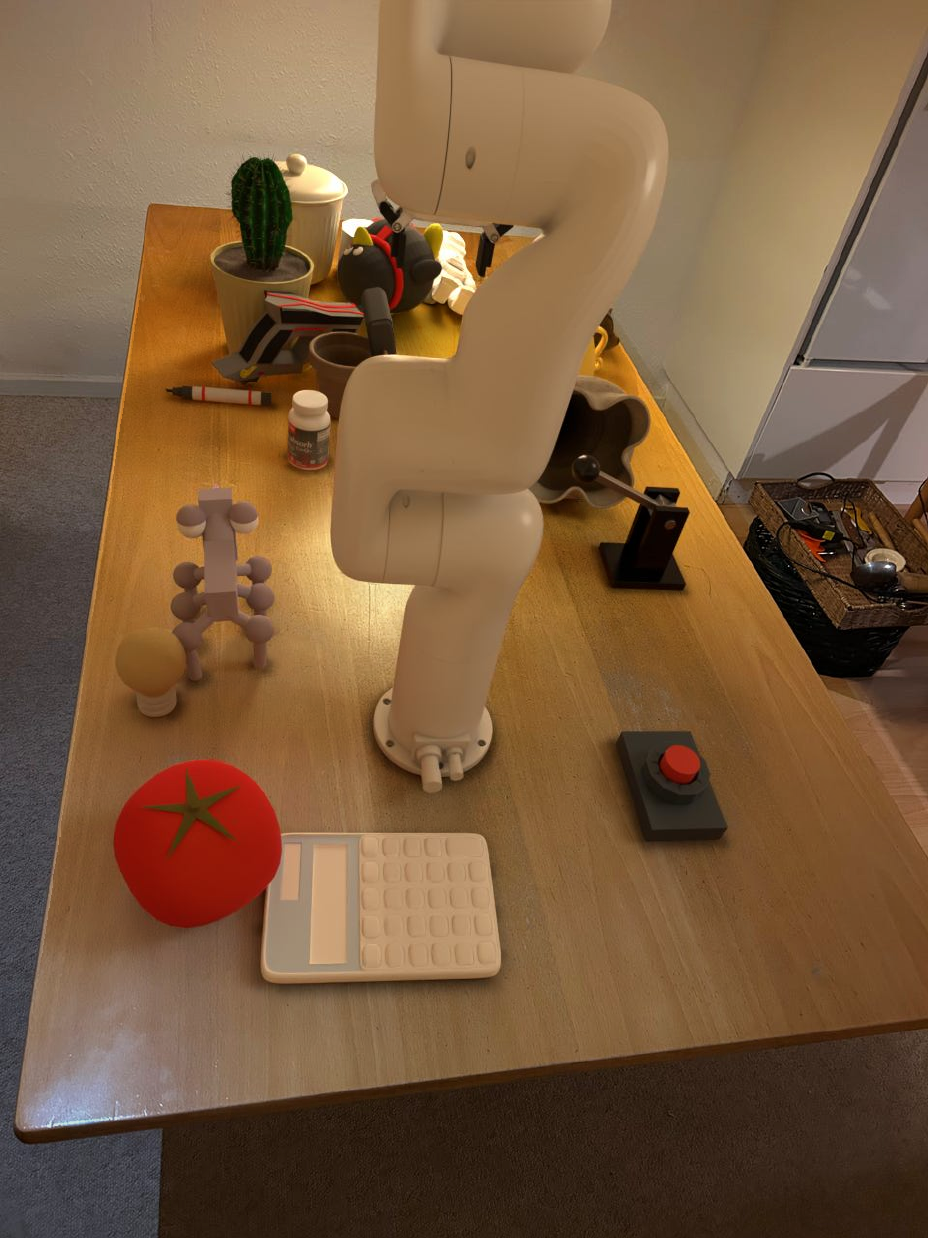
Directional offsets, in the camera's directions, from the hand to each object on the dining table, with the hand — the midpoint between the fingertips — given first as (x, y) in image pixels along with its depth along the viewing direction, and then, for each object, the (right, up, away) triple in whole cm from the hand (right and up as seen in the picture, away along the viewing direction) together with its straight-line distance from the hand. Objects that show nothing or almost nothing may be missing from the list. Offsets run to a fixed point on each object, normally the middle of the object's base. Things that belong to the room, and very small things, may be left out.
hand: (439, 267), depth 100 cm
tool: (-27, -3, +38) cm, 47 cm away
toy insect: (-24, -41, -3) cm, 48 cm away
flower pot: (-16, -9, +32) cm, 37 cm away
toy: (-5, +26, +59) cm, 64 cm away
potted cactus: (-30, +3, +41) cm, 51 cm away
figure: (0, +17, +58) cm, 60 cm away
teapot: (+16, 0, +48) cm, 50 cm away
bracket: (+27, -34, +15) cm, 46 cm away
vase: (+17, -18, +30) cm, 39 cm away
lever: (+22, -26, +6) cm, 35 cm away
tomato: (-20, -64, -25) cm, 71 cm away
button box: (+24, -59, -10) cm, 64 cm away
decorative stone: (-5, +24, +67) cm, 71 cm away
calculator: (-5, -67, -24) cm, 71 cm away
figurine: (+19, +14, +53) cm, 58 cm away
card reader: (-9, -3, +38) cm, 39 cm away
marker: (-34, -9, +28) cm, 45 cm away
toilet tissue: (-14, +32, +61) cm, 70 cm away
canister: (-30, +24, +63) cm, 74 cm away
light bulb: (-28, -50, -13) cm, 59 cm away
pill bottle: (-19, -19, +21) cm, 34 cm away
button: (+25, -56, -13) cm, 63 cm away
